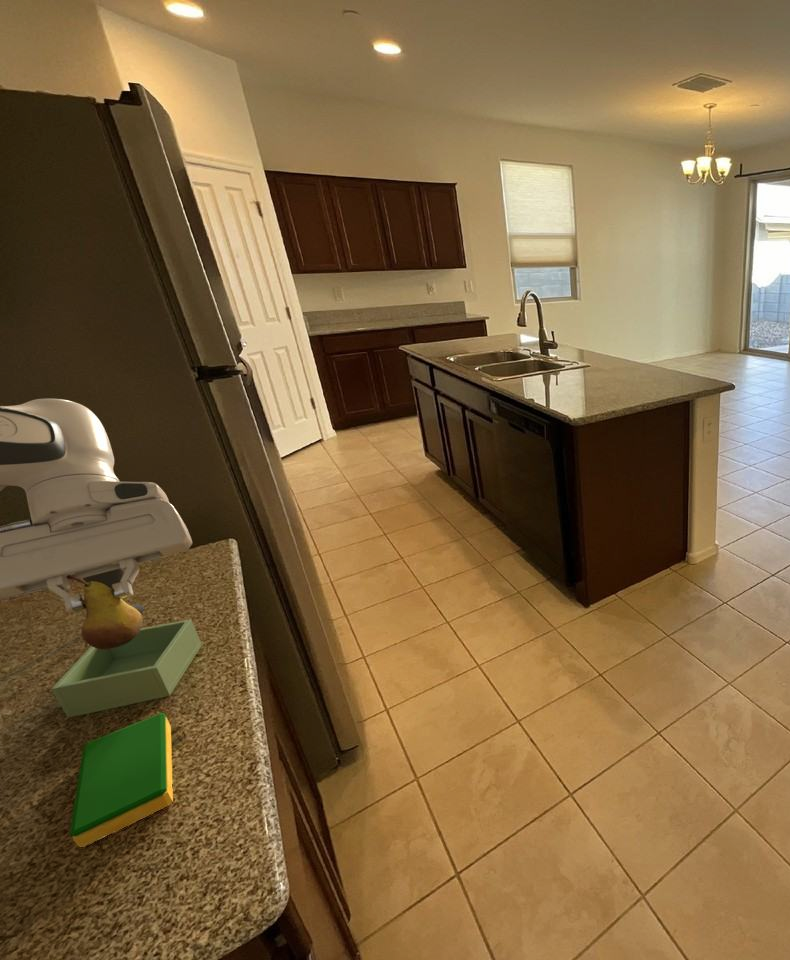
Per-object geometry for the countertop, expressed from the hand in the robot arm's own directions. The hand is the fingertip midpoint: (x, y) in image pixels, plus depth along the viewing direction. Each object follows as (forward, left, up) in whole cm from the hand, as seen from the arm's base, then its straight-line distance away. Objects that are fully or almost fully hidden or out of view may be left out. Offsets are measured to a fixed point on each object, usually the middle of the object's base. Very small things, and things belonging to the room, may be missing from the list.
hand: (101, 603), depth 67 cm
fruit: (-1, 0, -7) cm, 7 cm away
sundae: (-10, +20, -13) cm, 26 cm away
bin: (0, +1, -13) cm, 13 cm away
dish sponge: (+7, -19, -13) cm, 24 cm away
